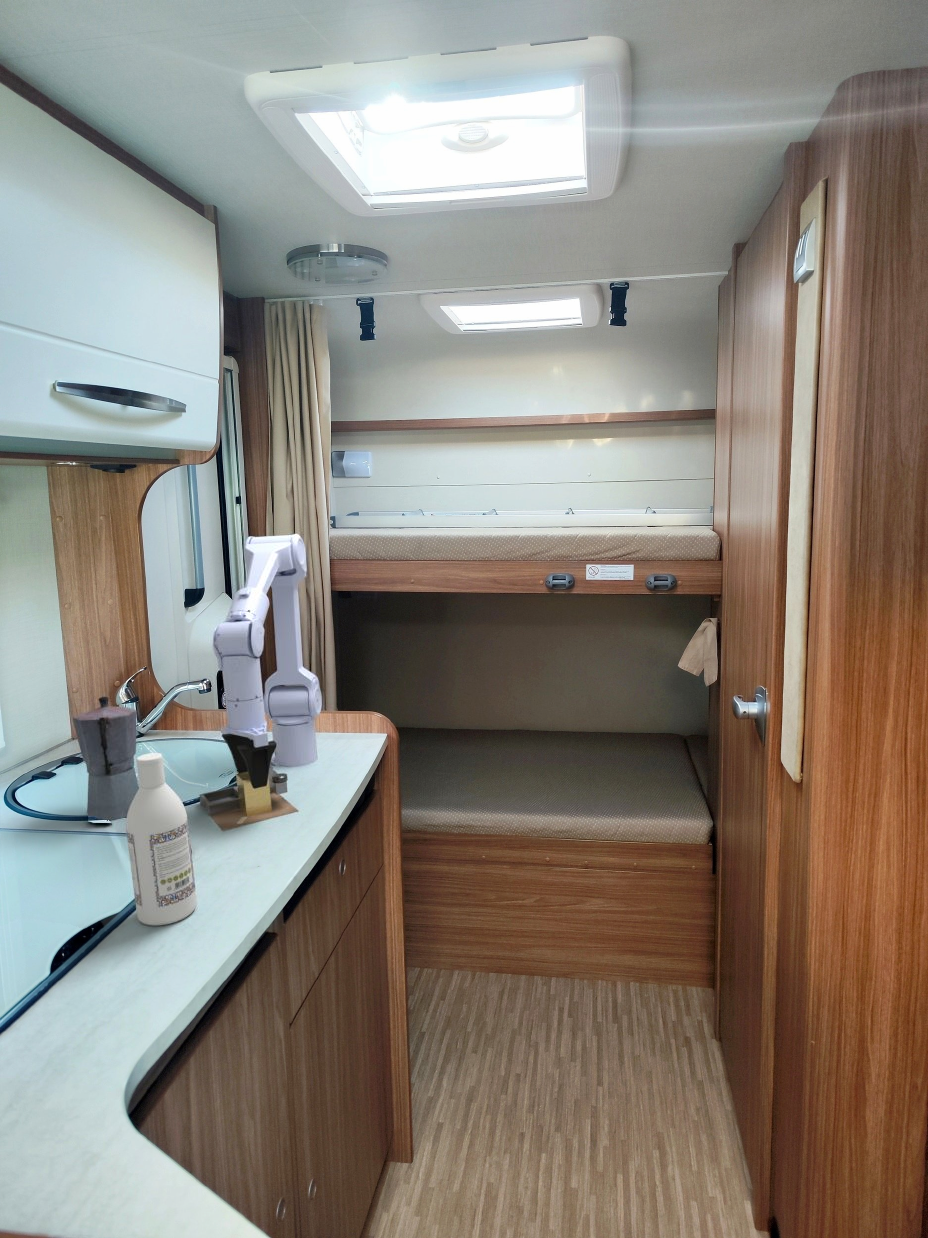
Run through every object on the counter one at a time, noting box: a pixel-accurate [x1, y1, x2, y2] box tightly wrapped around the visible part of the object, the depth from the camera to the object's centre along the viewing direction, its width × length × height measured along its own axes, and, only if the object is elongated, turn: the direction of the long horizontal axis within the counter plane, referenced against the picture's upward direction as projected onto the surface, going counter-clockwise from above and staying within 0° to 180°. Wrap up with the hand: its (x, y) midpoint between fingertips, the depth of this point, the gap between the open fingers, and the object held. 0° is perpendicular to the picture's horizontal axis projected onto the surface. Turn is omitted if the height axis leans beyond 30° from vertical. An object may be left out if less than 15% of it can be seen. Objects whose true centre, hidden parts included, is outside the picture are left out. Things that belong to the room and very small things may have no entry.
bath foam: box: [125, 752, 198, 926], centre depth 96 cm, size 7×7×20 cm
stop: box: [235, 772, 272, 817], centre depth 126 cm, size 4×4×6 cm
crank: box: [268, 764, 289, 795], centre depth 131 cm, size 11×3×5 cm, turn 32°
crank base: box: [199, 785, 299, 832], centre depth 128 cm, size 14×12×3 cm
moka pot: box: [72, 696, 140, 822], centre depth 128 cm, size 10×15×20 cm, turn 25°
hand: (252, 780), depth 126 cm, fingers open, 7 cm apart
